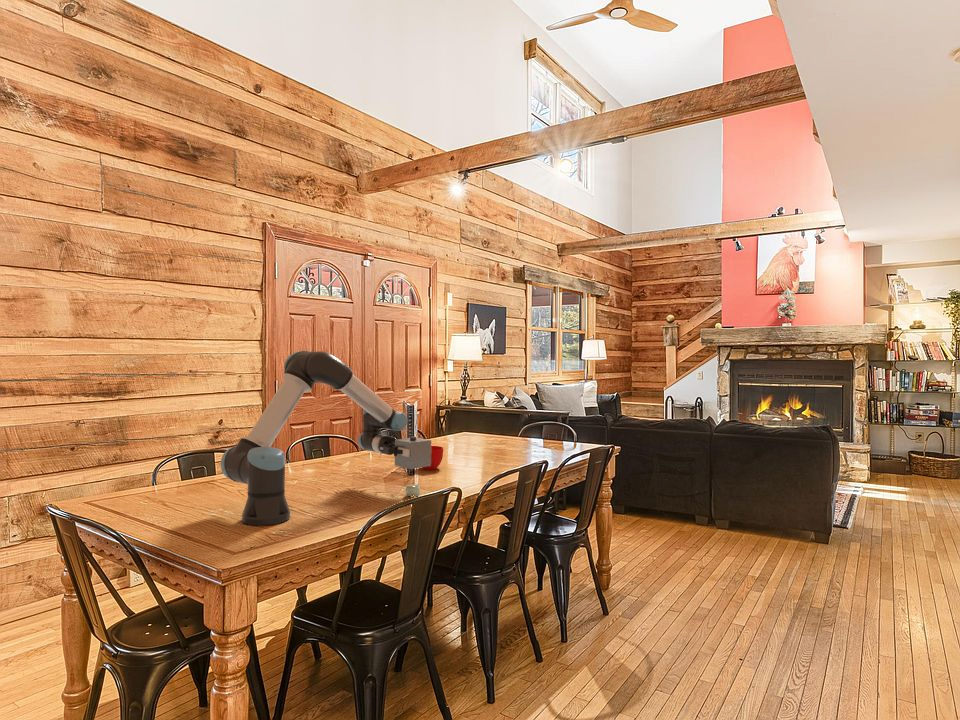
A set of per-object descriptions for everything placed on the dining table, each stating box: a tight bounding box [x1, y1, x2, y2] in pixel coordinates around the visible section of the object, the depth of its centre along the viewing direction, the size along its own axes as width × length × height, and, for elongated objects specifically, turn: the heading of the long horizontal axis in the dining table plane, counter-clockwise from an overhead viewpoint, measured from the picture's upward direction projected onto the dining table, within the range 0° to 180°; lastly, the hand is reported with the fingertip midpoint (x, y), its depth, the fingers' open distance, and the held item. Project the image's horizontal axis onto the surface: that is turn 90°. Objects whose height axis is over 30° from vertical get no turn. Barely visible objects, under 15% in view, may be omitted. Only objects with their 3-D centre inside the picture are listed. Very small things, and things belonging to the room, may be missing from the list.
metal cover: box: [394, 436, 432, 470], centre depth 236 cm, size 10×10×11 cm
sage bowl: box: [405, 484, 421, 497], centre depth 236 cm, size 6×6×4 cm
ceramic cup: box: [421, 445, 444, 471], centre depth 288 cm, size 13×17×10 cm
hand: (420, 451), depth 233 cm, fingers closed on metal cover, 10 cm apart
